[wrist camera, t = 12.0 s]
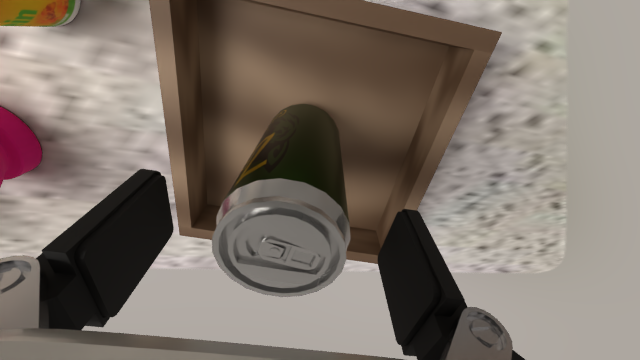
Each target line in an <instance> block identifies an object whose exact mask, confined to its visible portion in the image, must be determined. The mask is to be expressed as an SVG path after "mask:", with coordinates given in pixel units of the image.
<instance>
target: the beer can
mask: <svg viewBox="0 0 640 360" xmlns="http://www.w3.org/2000/svg"><path fill="white" fill-rule="evenodd" d="M350 239H351V238H350V226H349V216H348V207H347V199H346V190H345V181H344V173H343V164H342V155H341V147H340V138H339V130H338V128H337V126H336V124H335V121H334V120H333V119H332V118H331V117H330V116H329V114H328V113H327V112H325V111H324V110H322V109H320V108H318V107H317V106H313V105H308V104H296V105H291V106H289V107H287V108H285V109H283V110H281V111H280V112H279V113H278V114H277V115H276V116H275V117H274V118H273V120H272V121H271V123H270V125H269V126H268V128H267V130H266V131H265V133H264V135H263V136H262V138H261V139H260V141H259V143H258V144H257V146H256V148H255V149H254V151H253V153H252V154H251V156H250V158H249V159H248V161H247V163H246V164H245V166H244V168H243V169H242V171H241V173H240V174H239V176H238V178H237V179H236V181H235V183H234V184H233V186H232V188H231V189H230V191H229V193H228V194H227V196H226V197H225V199H224V201H223V203H222V205H221V207H220V210H219V212H218V214H217V216H216V229H215V232H214V234H213V236H212V252H213V254H214V257H215V259H216V261H217V263H218V265H219V267H220V268H221V269H222V270H223V271H224V272H225V273H226V274H227V275H228V276H229V277H230V278H231V279H232V280H234V281H235V282H237V283H239V284H240V285H242V286H243V287H245V288H247V289H250V290H253V291H256V292H258V293H262V294H265V295H272V296H279V297H290V296H302V295H306V294H309V293H313V292H317V291H319V290H320V289H322V288H324V287H326V286H327V285H329V284H331V283H332V282H333V281H334V280H335V279H336V278H337V276H338V275H339V274H340V273H341V272H342V269H343V267H344V264H345V261H346V251H347V248H348V245H349V242H350Z"/></svg>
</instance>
